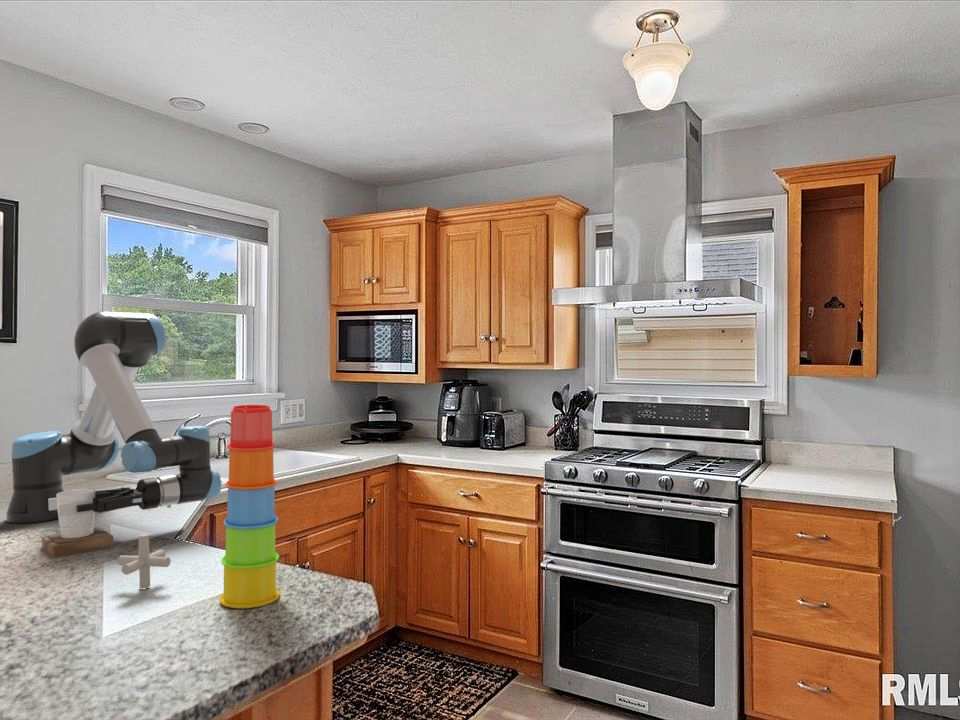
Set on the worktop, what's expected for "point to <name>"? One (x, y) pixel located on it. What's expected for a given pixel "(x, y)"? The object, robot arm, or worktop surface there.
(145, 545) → the beige jack
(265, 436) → the stacking cups
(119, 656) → the worktop surface
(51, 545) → the walnut board
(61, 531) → the white cup
